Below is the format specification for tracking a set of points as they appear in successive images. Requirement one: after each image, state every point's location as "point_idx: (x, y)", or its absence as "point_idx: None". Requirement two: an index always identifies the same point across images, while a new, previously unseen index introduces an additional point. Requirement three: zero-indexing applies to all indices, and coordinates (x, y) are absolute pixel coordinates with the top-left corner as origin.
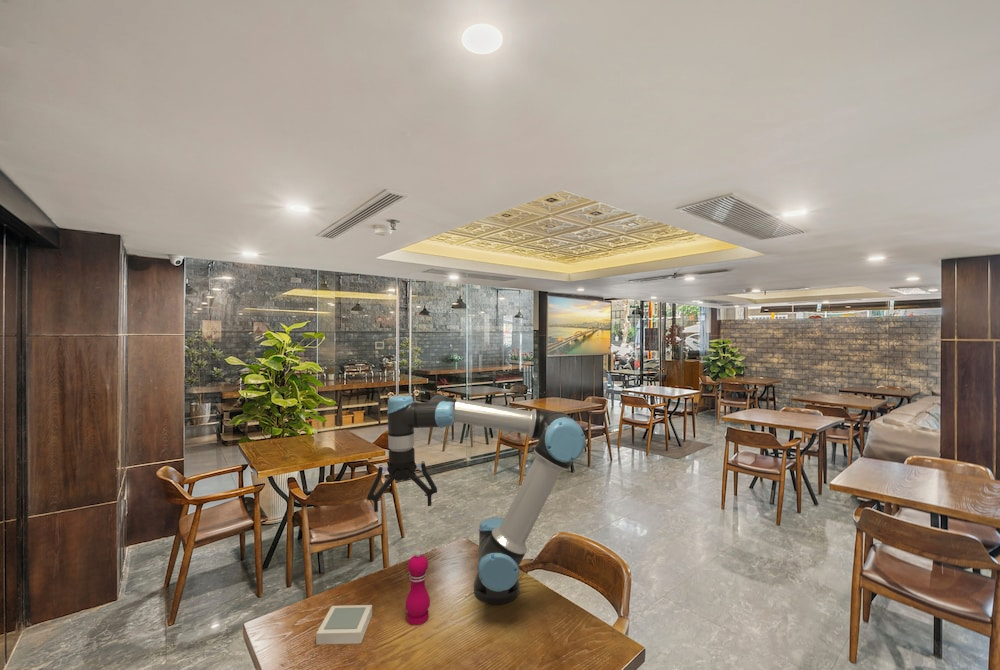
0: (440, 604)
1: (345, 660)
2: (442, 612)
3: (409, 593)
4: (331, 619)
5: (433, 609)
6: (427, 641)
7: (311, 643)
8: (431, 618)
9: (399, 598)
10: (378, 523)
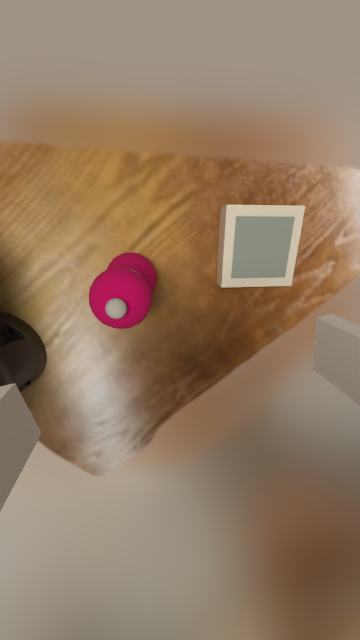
0: None
1: (237, 161)
2: None
3: (146, 274)
4: (286, 243)
5: None
6: (100, 207)
7: None
8: None
9: (178, 327)
10: (334, 315)
